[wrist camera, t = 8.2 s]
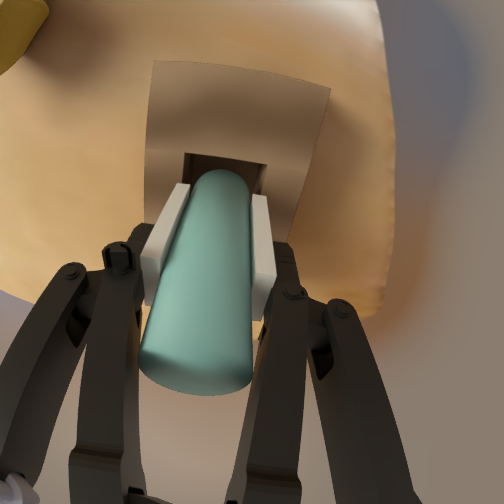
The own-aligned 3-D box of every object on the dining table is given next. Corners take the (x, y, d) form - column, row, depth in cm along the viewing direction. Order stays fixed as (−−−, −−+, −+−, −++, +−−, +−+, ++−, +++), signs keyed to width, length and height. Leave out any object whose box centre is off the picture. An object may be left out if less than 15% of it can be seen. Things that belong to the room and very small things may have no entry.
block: (178, 62, 16) (154, 60, 12) (309, 83, 18) (331, 88, 13) (163, 234, 26) (147, 276, 21) (265, 249, 27) (269, 293, 22)
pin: (196, 165, 16) (128, 330, 6) (254, 174, 16) (265, 350, 7) (191, 215, 18) (144, 386, 9) (244, 223, 19) (242, 399, 9)
